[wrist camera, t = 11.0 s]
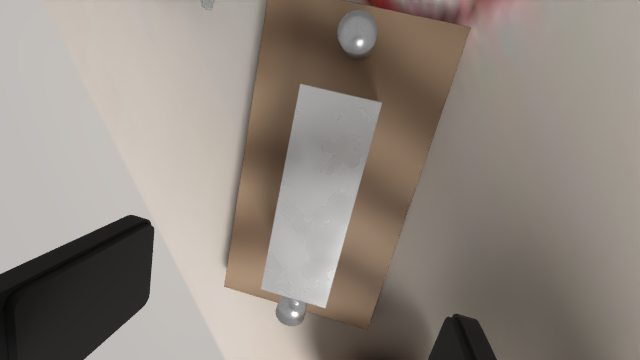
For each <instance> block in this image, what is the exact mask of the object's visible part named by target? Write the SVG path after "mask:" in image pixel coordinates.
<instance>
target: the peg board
mask: <svg viewBox="0 0 640 360" xmlns="http://www.w3.org/2000/svg"><path fill="white" fill-rule="evenodd" d="M470 28H471V27H467V26H462V25H458V24H453V23H448V22H443V21H439V20H434V19H429V18H425V17H420V16H415V15H410V14H406V13H401V12H396V11H392V10H387V9H382V8H377V7H373V6H368V5H363V4H358V3H354V2H349V1H344V0H267V6H266V13H265V20H264V26H263V33H262V39H261V46H260V53H259V59H258V66H257V73H256V79H255V86H254V92H253V99H252V106H251V112H250V119H249V126H248V132H247V139H246V145H245V152H244V159H243V165H242V172H241V179H240V185H239V192H238V198H237V205H236V212H235V218H234V225H233V232H232V238H231V245H230V251H229V258H228V265H227V271H226V278H225V285H224V287H227V288H231V289H234V290H237V291H241V292H244V293H247V294H250V295H254V296H257V297H260V298H264V299H267V300H270V301H274V302H277V303H278V306H277V308H276V316H277V318H278V319H279V321H280V322H282V323H283V324H285V325H288V326H296V325H299V324H300V323H301V322H302V321H303V319H304V316H305V312H306V311H307V312H310V313H314V314H317V315H320V316H323V317H327V318H330V319H333V320H337V321H340V322H343V323H347V324H350V325H353V326H357V327H360V328H363V329H368V326H369V323H370V320H371V317H372V314H373V312H374V309H375V306H376V303H377V300H378V297H379V294H380V291H381V288H382V285H383V282H384V279H385V277H386V274H387V271H388V268H389V265H390V262H391V259H392V256H393V253H394V250H395V247H396V244H397V241H398V239H399V236H400V233H401V230H402V227H403V224H404V221H405V218H406V215H407V212H408V209H409V206H410V204H411V201H412V198H413V195H414V192H415V189H416V186H417V183H418V180H419V177H420V174H421V171H422V168H423V166H424V163H425V160H426V157H427V154H428V151H429V148H430V145H431V142H432V139H433V136H434V133H435V131H436V128H437V125H438V122H439V119H440V116H441V113H442V110H443V107H444V104H445V101H446V98H447V95H448V93H449V90H450V87H451V84H452V81H453V78H454V75H455V72H456V69H457V66H458V63H459V60H460V58H461V55H462V52H463V49H464V46H465V43H466V40H467V37H468V34H469V31H470ZM300 84H304V85H310V86H316V87H320V88H325V89H329V90H333V91H337V92H342V93H346V94H350V95H354V96H359V97H363V98H367V99H372V100H376V101H379V102H381V103H382V105H381V109H380V112H379V116H378V120H377V123H376V127H375V131H374V134H373V138H372V141H371V145H370V149H369V152H368V156H367V159H366V163H365V167H364V170H363V174H362V177H361V181H360V185H359V188H358V192H357V196H356V199H355V203H354V206H353V210H352V214H351V217H350V221H349V224H348V228H347V232H346V235H345V239H344V243H343V246H342V250H341V253H340V257H339V261H338V264H337V268H336V271H335V275H334V279H333V282H332V286H331V289H330V293H329V297H328V300H327V304H326V308H323V307H319V306H316V305H313V304H309V303H306V302H303V301H299V300H296V299H292V298H289V297H286V296H282V295H279V294H275V293H272V292H269V291H265V290H262V289H261V286H262V281H263V275H264V270H265V265H266V260H267V255H268V249H269V244H270V239H271V234H272V229H273V223H274V218H275V213H276V208H277V202H278V197H279V192H280V187H281V182H282V176H283V171H284V166H285V161H286V156H287V150H288V145H289V140H290V135H291V130H292V124H293V119H294V114H295V109H296V104H297V98H298V93H299V88H300Z"/></svg>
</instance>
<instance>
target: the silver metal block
mask: <svg viewBox="0 0 640 360" xmlns="http://www.w3.org/2000/svg"><path fill="white" fill-rule="evenodd" d="M381 105H382V103H381V102H379V101H376V100H372V99H367V98H363V97H359V96H354V95H350V94H346V93H342V92H337V91H333V90H329V89H325V88H320V87H316V86H310V85H304V84H300V88H299V93H298V98H297V104H296V109H295V114H294V119H293V124H292V130H291V135H290V140H289V145H288V150H287V156H286V161H285V166H284V171H283V176H282V182H281V187H280V192H279V197H278V202H277V208H276V213H275V218H274V223H273V229H272V234H271V239H270V244H269V249H268V255H267V260H266V265H265V270H264V275H263V281H262V286H261V289H262V290H265V291H269V292H272V293H275V294H279V295H282V296H286V297H289V298H292V299H296V300H299V301H303V302H306V303H309V304H313V305H316V306H319V307H323V308H326V304H327V300H328V297H329V293H330V289H331V286H332V282H333V279H334V275H335V271H336V268H337V264H338V261H339V257H340V253H341V250H342V246H343V243H344V239H345V235H346V232H347V228H348V224H349V221H350V217H351V214H352V210H353V206H354V203H355V199H356V196H357V192H358V188H359V185H360V181H361V177H362V174H363V170H364V167H365V163H366V159H367V156H368V152H369V149H370V145H371V141H372V138H373V134H374V131H375V127H376V123H377V120H378V116H379V112H380V109H381Z"/></svg>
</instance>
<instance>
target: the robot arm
mask: <svg viewBox="0 0 640 360" xmlns="http://www.w3.org/2000/svg"><path fill="white" fill-rule="evenodd" d="M153 240H154V227H153V226H151V222H150V221H149V220H147V219H144V218H141V217H138V216H134V215H129V216H126V217H124V218H121V219H119V220H117V221H115V222H113V223H111V224H108V225H106V226H104V227H102V228H100V229H97V230H95V231H93V232H91V233H89V234H87V235H84V236H82V237H80V238H78V239H76V240H74V241H72V242H69V243H67V244H65V245H63V246H61V247H58V248H56V249H54V250H52V251H50V252H48V253H45V254H43V255H41V256H39V257H37V258H34V259H32V260H30V261H28V262H26V263H24V264H21V265H19V266H17V267H15V268H13V269H11V270H9V271H6V272H5V273H2V274H0V360H84V359H85V358H86V357H87V356H88V355H89V354H91V353H92V352H93V351H94V350H95V349H96V348H97V347H98V346H100V345H101V344H102V343H103V342H104V341H105V340H106V339H107V338H108V337H110V336H111V335H112V334H113V333H114V332H115V331H116V330H118V329H119V328H120V327H121V326H122V325H123V324H124V323H126V322H127V321H128V320H129V319H130V318H131V317H132V316H133V315H135V314H136V313H137V312H138V311H139V310H140V309H141V308H142V307H143V306H144V305H145V304H146V302H147V300H148V298H149V294H150V281H151V267H152V253H153ZM428 360H497V359H496V357H495V355H494V353H493V351H492V348H491V346H490V344H489V342H488V340H487V338H486V336H485V334H484V332H483V330H482V328H481V326H480V324H479V322H478V321H477V320H476V319H473V318H469V317H466V316H463V315H459V314H454V315H453V316H452V317H447V318H446V319H445V321H444V323H443V325H442V328H441V330H440V332H439V335H438V337H437V340H436V342H435V344H434V347H433V349H432V351H431V354H430V356H429V358H428Z"/></svg>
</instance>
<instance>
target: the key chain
mask: <svg viewBox="0 0 640 360" xmlns="http://www.w3.org/2000/svg"><path fill="white" fill-rule="evenodd" d="M200 1H201V2H202V5H201V6H203V7H204V8H205V9H206V10H212V7H213V2H214V0H200Z"/></svg>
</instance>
